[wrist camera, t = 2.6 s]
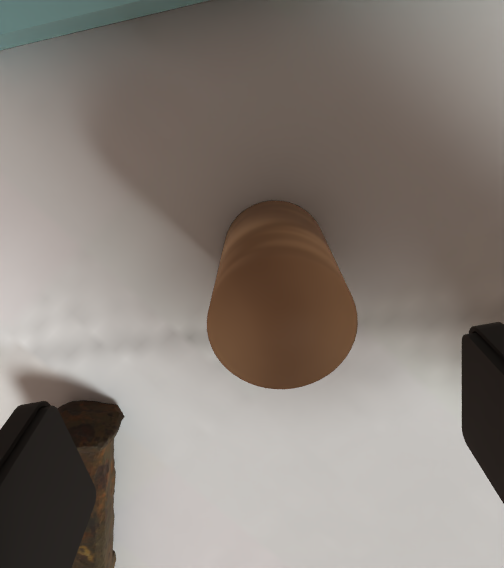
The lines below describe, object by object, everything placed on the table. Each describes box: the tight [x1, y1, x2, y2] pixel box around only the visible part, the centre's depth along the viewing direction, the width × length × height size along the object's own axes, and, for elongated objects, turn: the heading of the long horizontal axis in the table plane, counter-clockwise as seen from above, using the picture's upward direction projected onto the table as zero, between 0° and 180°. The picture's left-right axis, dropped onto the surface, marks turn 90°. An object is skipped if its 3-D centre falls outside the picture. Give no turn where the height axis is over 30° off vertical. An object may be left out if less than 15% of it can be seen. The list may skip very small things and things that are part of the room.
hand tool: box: [58, 401, 124, 568], centre depth 27 cm, size 19×4×5 cm, turn 171°
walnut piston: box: [207, 201, 358, 389], centre depth 18 cm, size 5×5×8 cm
